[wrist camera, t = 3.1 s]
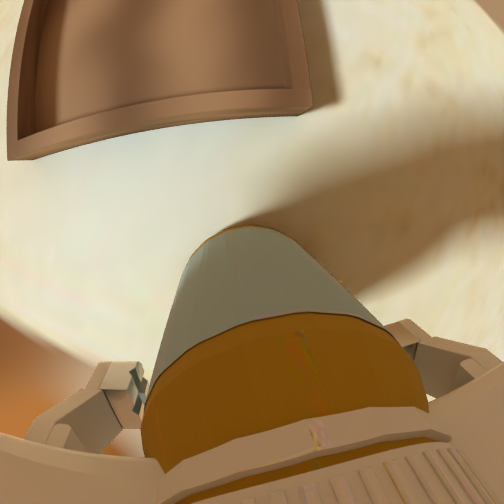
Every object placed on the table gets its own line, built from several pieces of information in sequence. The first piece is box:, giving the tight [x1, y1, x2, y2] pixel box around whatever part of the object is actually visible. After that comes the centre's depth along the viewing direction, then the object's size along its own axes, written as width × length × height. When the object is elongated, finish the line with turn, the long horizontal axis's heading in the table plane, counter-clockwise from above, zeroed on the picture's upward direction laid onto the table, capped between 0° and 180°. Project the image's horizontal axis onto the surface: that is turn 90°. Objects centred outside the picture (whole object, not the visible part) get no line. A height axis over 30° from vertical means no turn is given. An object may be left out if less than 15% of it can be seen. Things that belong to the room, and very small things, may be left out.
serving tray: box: [7, 0, 313, 161], centre depth 10 cm, size 15×15×2 cm
